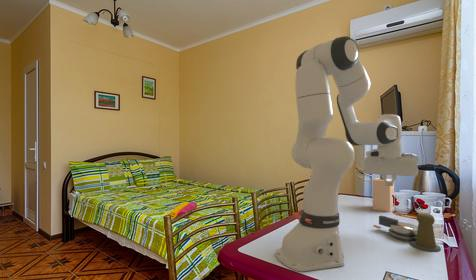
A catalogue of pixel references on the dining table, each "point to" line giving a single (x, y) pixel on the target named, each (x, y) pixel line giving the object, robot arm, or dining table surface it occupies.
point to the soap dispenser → (382, 195)
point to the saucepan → (398, 226)
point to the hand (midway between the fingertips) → (388, 185)
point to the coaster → (413, 243)
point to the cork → (425, 231)
